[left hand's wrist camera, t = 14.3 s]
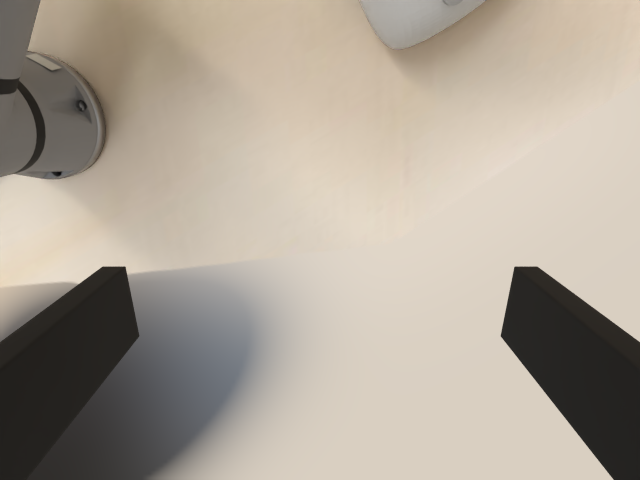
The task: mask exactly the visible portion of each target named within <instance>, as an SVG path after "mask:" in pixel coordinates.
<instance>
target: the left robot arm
mask: <svg viewBox="0 0 640 480" xmlns="http://www.w3.org/2000/svg"><path fill="white" fill-rule="evenodd" d="M39 4H40V0H0V177H2V176H6V175H10V174H18V175H24V176H30V177H36V178H42V179H60V178H65V177H69V176H72V175H75V174H78V173H81V172H83V171H84V170H86V169H87V168H89V167H90V166H91V165H92V164H93V163H94V162H95V161H96V159H97V158H98V156H99V155H100V153H101V151H102V148H103V145H104V141H105V129H106V128H105V119H104V114H103V111H102V108H101V105H100V103H99V100H98V98H97V96H96V95H95V93H94V91H93V90H92V88H91V87H90V85H89V84H88V83H87V82H86V80H85V79H84V78H83V77H82V76H81V75H80V74H79V73H78V72H76V71H75V70H74V69H73V68H71V67H70V66H69V65H67V64H66V63H64V62H62V61H60V60H58V59H56V58H54V57H51V56H48V55H45V54H40V53H35V52H30V51H27V50H28V46H29V42H30V38H31V34H32V31H33V27H34V23H35V19H36V15H37V12H38V8H39ZM138 337H139V332H138V327H137V322H136V317H135V312H134V307H133V302H132V297H131V292H130V287H129V282H128V277H127V272H126V267H102V268H100V269H99V270H98V271H96V272H95V273H93V274H92V275H91V276H89V277H88V278H87V279H85V280H84V281H83V282H81V283H80V284H79V285H77V286H76V287H74V288H73V289H72V290H70V291H69V292H68V293H66V294H65V295H64V296H62V297H61V298H60V299H58V300H57V301H56V302H54V303H53V304H52V305H50V306H49V307H47V308H46V309H45V310H43V311H42V312H41V313H39V314H38V315H36V316H35V317H34V318H32V319H31V320H30V321H28V322H27V323H26V324H24V325H23V326H22V327H20V328H19V329H17V330H16V331H15V332H13V333H12V334H11V335H9V336H8V337H7V338H5V339H4V340H3V341H1V342H0V480H26V479H27V478H28V477H29V476H30V474H31V473H32V472H33V470H34V469H35V468H36V467H37V465H38V464H39V463H40V462H41V460H42V459H43V458H44V457H45V455H46V454H47V453H48V451H49V450H50V449H51V448H52V446H53V445H54V444H55V442H56V441H57V440H58V439H59V437H60V436H61V435H62V434H63V432H64V431H65V430H66V429H67V427H68V426H69V425H70V423H71V422H72V421H73V420H74V418H75V417H76V416H77V415H78V413H79V412H80V411H81V410H82V408H83V407H84V406H85V404H86V403H87V402H88V401H89V399H90V398H91V397H92V396H93V394H94V393H95V392H96V390H97V389H98V388H99V387H100V385H101V384H102V383H103V382H104V380H105V379H106V378H107V376H108V375H109V374H110V373H111V371H112V370H113V369H114V367H115V366H116V365H117V364H118V362H119V361H120V360H121V359H122V357H123V356H124V355H125V354H126V352H127V351H128V350H129V348H130V347H131V346H132V345H133V343H134V342H135V341H136V339H137V338H138ZM501 337H502V338H503V340H504V341H505V342H506V343H507V345H508V346H509V347H510V348H511V350H512V351H513V352H514V354H515V355H516V356H517V357H518V359H519V360H520V361H521V362H522V364H523V365H524V366H525V368H526V369H527V370H528V371H529V373H530V374H531V375H532V376H533V378H534V379H535V380H536V382H537V383H538V384H539V385H540V387H541V388H542V389H543V390H544V392H545V393H546V394H547V396H548V397H549V398H550V399H551V401H552V402H553V403H554V404H555V406H556V407H557V408H558V410H559V411H560V412H561V413H562V415H563V416H564V417H565V418H566V420H567V421H568V422H569V423H570V425H571V426H572V427H573V429H574V430H575V431H576V432H577V434H578V435H579V436H580V437H581V439H582V440H583V441H584V443H585V444H586V445H587V446H588V448H589V449H590V450H591V451H592V453H593V454H594V455H595V457H596V458H597V459H598V460H599V462H600V463H601V464H602V465H603V467H604V468H605V469H606V470H607V472H608V473H609V474H610V475H611V477H612V478H613V479H614V480H640V342H639V341H637V340H636V339H635V338H633V337H632V336H631V335H629V334H628V333H627V332H625V331H624V330H623V329H621V328H620V327H618V326H617V325H616V324H614V323H613V322H612V321H610V320H609V319H608V318H606V317H605V316H604V315H602V314H601V313H599V312H598V311H597V310H595V309H594V308H593V307H591V306H590V305H589V304H587V303H586V302H584V301H583V300H582V299H580V298H579V297H578V296H576V295H575V294H574V293H572V292H571V291H570V290H568V289H567V288H566V287H564V286H563V285H561V284H560V283H559V282H557V281H556V280H555V279H553V278H552V277H551V276H549V275H548V274H547V273H545V272H544V271H542V270H541V269H540V268H538V267H514V272H513V277H512V282H511V287H510V292H509V297H508V302H507V307H506V312H505V317H504V322H503V327H502V333H501Z"/></svg>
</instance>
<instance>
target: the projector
mask: <svg viewBox="0 0 640 480" xmlns="http://www.w3.org/2000/svg"><path fill="white" fill-rule="evenodd" d="M359 1H360V4H361V6H362V8H363V11H364V13H365V15H366V17H367V19H368V21H369V23H370V25H371V27H372V28H373V30H374V32H375V33H376V35H377V36H378V38H379V39H380V40H381V41H382V42H383V43H384V44H385V45H387V46H388V47H390V48H392V49H396V50H399V49H405V48H408V47H411V46H414V45H416V44H418V43H420V42H422V41H425V40H426V39H428V38H430V37H432V36H434V35H436V34H437V33H439V32H441V31H443V30H444V29H446V28H448V27H449V26H451V25H452V24H454V23H455V22H457V21H458V20H460V19H461V18H463V17H464V16H466V15H467V14H469V13H470V12H471V11H473V10H474V9H476V8H477V7H478V6H480V5H481V4H482V3H483V2H485V1H486V0H359Z"/></svg>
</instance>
